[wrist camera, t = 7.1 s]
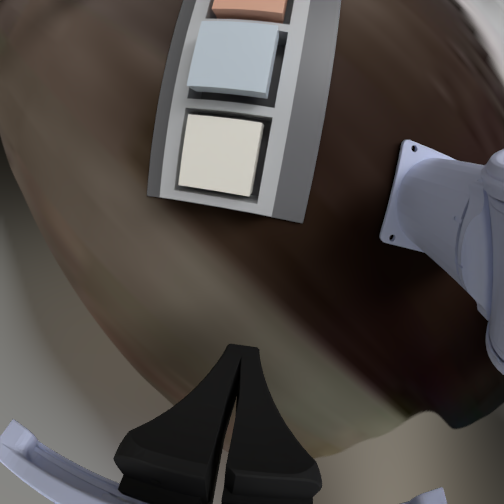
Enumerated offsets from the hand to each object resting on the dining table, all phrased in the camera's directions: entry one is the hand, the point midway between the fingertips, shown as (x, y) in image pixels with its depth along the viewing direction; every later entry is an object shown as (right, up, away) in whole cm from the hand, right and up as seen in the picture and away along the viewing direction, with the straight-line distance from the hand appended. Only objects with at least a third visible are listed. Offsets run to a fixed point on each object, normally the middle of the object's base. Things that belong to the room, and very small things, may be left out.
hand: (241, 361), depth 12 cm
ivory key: (-1, +12, +6) cm, 13 cm away
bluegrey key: (0, +17, +3) cm, 17 cm away
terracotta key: (+1, +23, +2) cm, 23 cm away
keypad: (0, +20, +3) cm, 20 cm away
